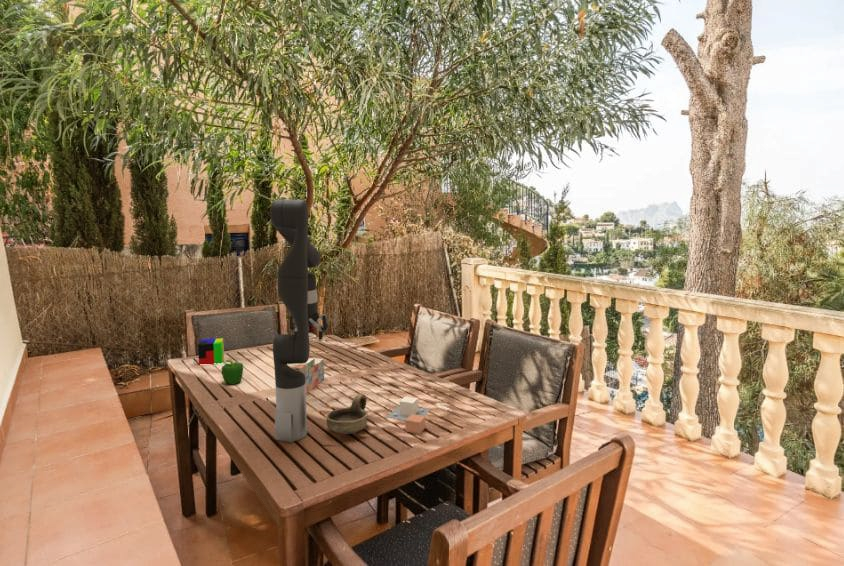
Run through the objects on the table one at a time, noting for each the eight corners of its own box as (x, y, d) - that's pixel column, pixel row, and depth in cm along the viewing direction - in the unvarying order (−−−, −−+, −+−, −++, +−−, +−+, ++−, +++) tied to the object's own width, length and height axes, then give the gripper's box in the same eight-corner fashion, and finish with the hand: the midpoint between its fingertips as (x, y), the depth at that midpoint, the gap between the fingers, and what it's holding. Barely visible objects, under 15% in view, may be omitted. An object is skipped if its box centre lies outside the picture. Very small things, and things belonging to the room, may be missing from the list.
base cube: (412, 417, 163) (412, 403, 162) (399, 414, 164) (399, 401, 164) (418, 411, 167) (418, 398, 166) (405, 409, 169) (405, 396, 168)
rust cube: (419, 437, 150) (419, 422, 149) (405, 434, 152) (405, 419, 151) (425, 430, 155) (425, 416, 154) (411, 428, 156) (411, 414, 156)
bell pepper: (248, 380, 200) (247, 358, 198) (233, 387, 192) (232, 363, 191) (233, 378, 203) (232, 355, 202) (218, 383, 196) (217, 360, 195)
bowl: (316, 435, 151) (316, 405, 149) (348, 415, 166) (348, 388, 165) (351, 445, 144) (351, 414, 143) (381, 423, 160) (381, 395, 158)
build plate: (418, 425, 158) (418, 421, 158) (386, 419, 162) (386, 415, 162) (430, 412, 169) (430, 407, 169) (400, 407, 174) (400, 402, 173)
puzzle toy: (202, 359, 230) (201, 339, 228) (224, 357, 233) (223, 338, 231) (199, 365, 220) (197, 344, 219) (222, 363, 223) (220, 343, 222)
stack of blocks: (311, 378, 204) (310, 351, 202) (324, 379, 203) (323, 352, 201) (287, 396, 183) (286, 366, 182) (302, 397, 182) (301, 367, 180)
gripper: (286, 302, 175) (288, 343, 179) (324, 303, 175) (326, 343, 180) (290, 297, 182) (293, 335, 186) (327, 297, 183) (329, 335, 187)
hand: (309, 339), depth 183 cm, fingers open, 8 cm apart
